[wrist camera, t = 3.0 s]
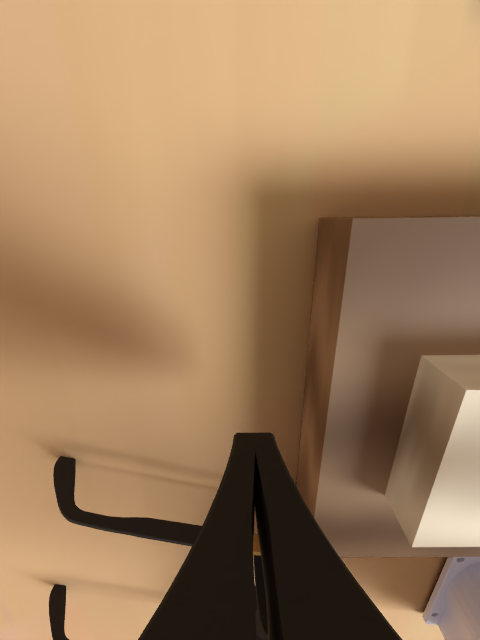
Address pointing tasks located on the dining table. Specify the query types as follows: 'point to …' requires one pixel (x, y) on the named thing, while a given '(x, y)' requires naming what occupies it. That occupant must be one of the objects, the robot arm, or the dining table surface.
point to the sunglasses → (138, 528)
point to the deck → (378, 363)
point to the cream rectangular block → (440, 455)
